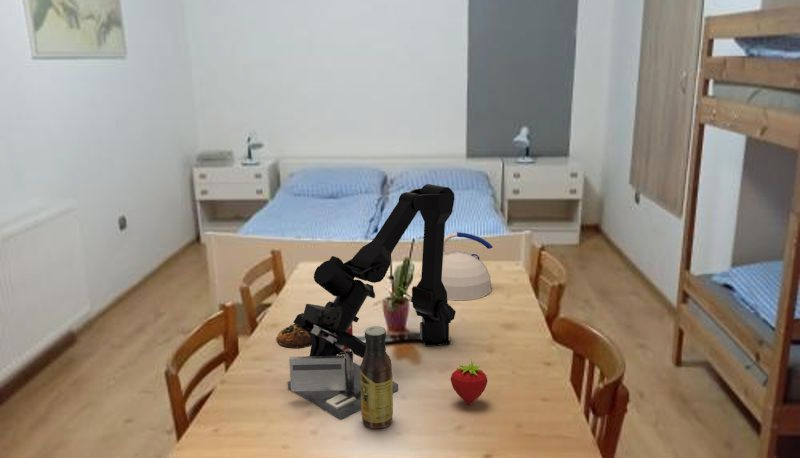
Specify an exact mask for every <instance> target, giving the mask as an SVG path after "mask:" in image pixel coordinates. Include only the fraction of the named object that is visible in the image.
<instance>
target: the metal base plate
mask: <svg viewBox="0 0 800 458" xmlns="http://www.w3.org/2000/svg"><path fill="white" fill-rule="evenodd" d="M360 366H361V364H357V363H355V362H354V361H353V370H354V390H351V391H349V390H347V388H346V390H334V391H292V392H294V393H295V394H297V395H298V396H300V397H302V398H303V399H305V400H307V401H308V402H310V403H311V404H313V405H315V406H316V407H318V408H319V409H322V410H324V411H326V412H327V413H328V414H330V415H332V416H333V417H335V418H336V419H339V420H340V421H341V420H343V419H345V418H347V417H349V416H351V415H353V414H355V413H356V412H359V411H361V389H360ZM345 381H346V364H345ZM287 389H288V390H289V391H291V380H289V381H287ZM397 391H399V384H398V383H397V382H395V381H393V394H394V393H395V392H397ZM339 394H342V395H344V396H346V397H348V398H351V397H355V398H356V400H355V401H353V402H351V403H349V404H347V405H345V406H343V407H341V408H339V409H336V408H334V407H333V406H331V405H329V404H327V403H326V401H327V400H329V399H331V398H333V397H335V396H337V395H339Z"/></svg>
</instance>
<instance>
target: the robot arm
mask: <svg viewBox="0 0 800 458" xmlns="http://www.w3.org/2000/svg"><path fill="white" fill-rule="evenodd" d="M455 199H456V198H455V192H454V191H453V190H452V189H451V188H450V187H448V186H443V185H438V184H437V185H436V184H430V183H426V184H425V185H423V186H422V187H420V188H414V189H412V190H410V191H406V192H403V193H400V195H399V197H398V202H397V204H396V205H395V206H394V208H393V209H392V211H391V212H390V214H389V216H388V217H387V218H386V220H385V222H384V223H383V225H382V226H381V227H380V229H379V231H378V232H377V234H376V235H375V237H374V238H373V239H372V240H371V241H370V242H369V243H366V244H364V245H363V246H362V247H360V249H359V250H358V251H357V252H356V253H355V254H354V255H353V257H352V258H351V259H349V260H347V261H345V262H343V260H342V259H341V258H339V257H337V256H336V255H335V256H334V255H331V257H330V258H329V260H326V261H323V262H322V263H320V265H318V266H317V267H316V269H315V270H314V274H313V279H314V282H315V283H316V284H317V285H319V286H320V287H321V288H322V289H324V290H325V291H327V292H328V293H329V294H330V295H331V296H333V297H334V296H337V297H336V298H335V300H334V299H333V301H334V302H331V301H328V302H327V303H326V304H325V305H324V306H323V305H319V304H318V305H317V304H312V303H311V304H310V303H305V307H304V311H303V312H301V313H299V314H297V315H296V317H295V319H294V320H293V322H292V323H293V324H296V325H298V326H299V327H301V328H302V329H304V330H305V331H307V332H308V334H309V335H310V338H311V342H312V343H311V345H310V351H309V356H339V354H345V353H344V351H343V348H344V346H345V347H347V348H349V349H350V350H349V351H353V355H356V356H358V357H359V358H361V359H363V357H364V354H365V351H366V342H364V341H363V340H361V339H360V338H358V337H357V336H356V335H354V334H353V335H351V334H349V333H347V331H348V329H349V327H350V326H351V324H352V325H353V322H354V323H358V322H359V320H360V318H359V317H358V316H357V314H358V313H359V311H360V310H361V308H362V306H363V304H364V302H365V301H366V299H367V297H369V298H372V299H375V298H376V292H375V291H374V285H372V284H369V283H364V282H370V283H373V284H375V283H380V282H381V281H383V280H384V278H385V276H386V274H387V273H388V271H389V268H390V266H391V263H392V253H393V252H394V250H395V247H397V245H398V243H399V242H400V240H401V239H402V237H403V235H404V234H405V232H406V231H407V229H408V227H409V226H410V224H411V223H412V221H413V220H414V218H415V217H416V215H417V213H418V212H419V213H420V216H421V218H422V219H423V222H424V224H423V238H422V239H423V241H422V242H423V244H422V257H421V276H420V277H421V278H420V280H419V282H418V283H417V285H414V286H412V288H411V299H410V303H412V308H413V309H414V310H415V314H416V315H417V316H418V317H421V321H420V323H419V338H420V340H421V341H422V342H423V344H424V346H425V347H434V346H444V345H445V346H446V345H451V343H452V341H451V339H450V324H451V323H452V321H454V320H455V317H456V310H455V309H454V308H453V307H452V306H451V305H450V304H449V303H448V300H447V291H446V289H445V287H444V285H443V283H442V265H443V249H444V248H445V247H444V238H445V233H446V232H445V230H446V222H447V221H448V220H449V218H450V216H451V215H452V214H453V211H454V210H453V209H454V204H455ZM355 278H356V279H355ZM363 281H364V282H363ZM335 334H336V335H335Z"/></svg>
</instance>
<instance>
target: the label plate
mask: <svg viewBox="0 0 800 458" xmlns="http://www.w3.org/2000/svg"><path fill="white" fill-rule="evenodd" d="M355 400H356V398H355V397H351V398H348V397H346V396H344V395H342V394H339V395H337V396H335V397H333V398H331V399H329V400H327V401H326V403H327V404H329V405H331V406H333V407H334V408H336V409H339V408H341V407H343V406H345V405H347V404H349V403H351V402H353V401H355Z"/></svg>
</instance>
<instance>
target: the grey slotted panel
mask: <svg viewBox="0 0 800 458" xmlns="http://www.w3.org/2000/svg"><path fill="white" fill-rule="evenodd" d="M288 362H289V377H290V381H291V390H290V391H291V392H293V391H334V390H346V388H347V390H349V391H351V390H354V370H353V362H354V353H353V351H351V350H349V351H346V352H345V353H344V355H336V356H310V355H309V356H307V355H306V356H304V355H303V356H302V355H301V356H289V359H288ZM345 364H346V381H345Z"/></svg>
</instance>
